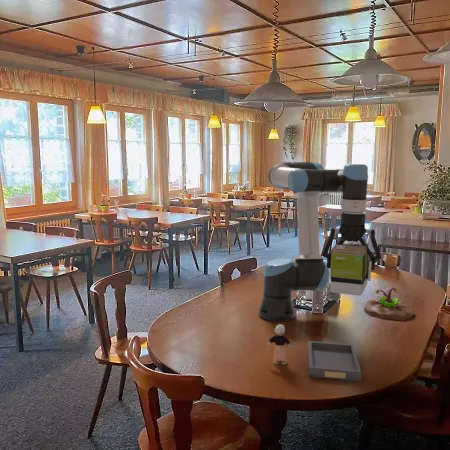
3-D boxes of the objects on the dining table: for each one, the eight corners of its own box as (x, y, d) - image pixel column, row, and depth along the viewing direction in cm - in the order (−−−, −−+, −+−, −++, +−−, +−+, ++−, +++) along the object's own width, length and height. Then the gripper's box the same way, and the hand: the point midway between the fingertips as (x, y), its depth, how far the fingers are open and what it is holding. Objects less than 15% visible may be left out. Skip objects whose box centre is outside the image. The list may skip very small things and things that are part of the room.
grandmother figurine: (290, 360, 146) (291, 322, 144) (291, 365, 142) (292, 327, 140) (266, 359, 146) (267, 322, 144) (267, 364, 142) (268, 326, 141)
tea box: (337, 281, 156) (339, 239, 153) (367, 284, 151) (370, 241, 149) (329, 292, 142) (331, 246, 140) (361, 296, 138) (364, 249, 136)
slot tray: (309, 377, 135) (309, 368, 134) (308, 349, 154) (308, 341, 154) (360, 382, 132) (361, 372, 132) (352, 352, 152) (353, 344, 152)
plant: (411, 324, 181) (413, 297, 179) (361, 315, 189) (362, 290, 188) (414, 309, 199) (416, 285, 197) (368, 302, 207) (370, 279, 205)
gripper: (316, 212, 141) (313, 280, 144) (394, 215, 138) (389, 283, 141) (315, 210, 149) (312, 274, 152) (388, 212, 145) (384, 277, 149)
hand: (349, 278), depth 146 cm, fingers closed on tea box, 11 cm apart
